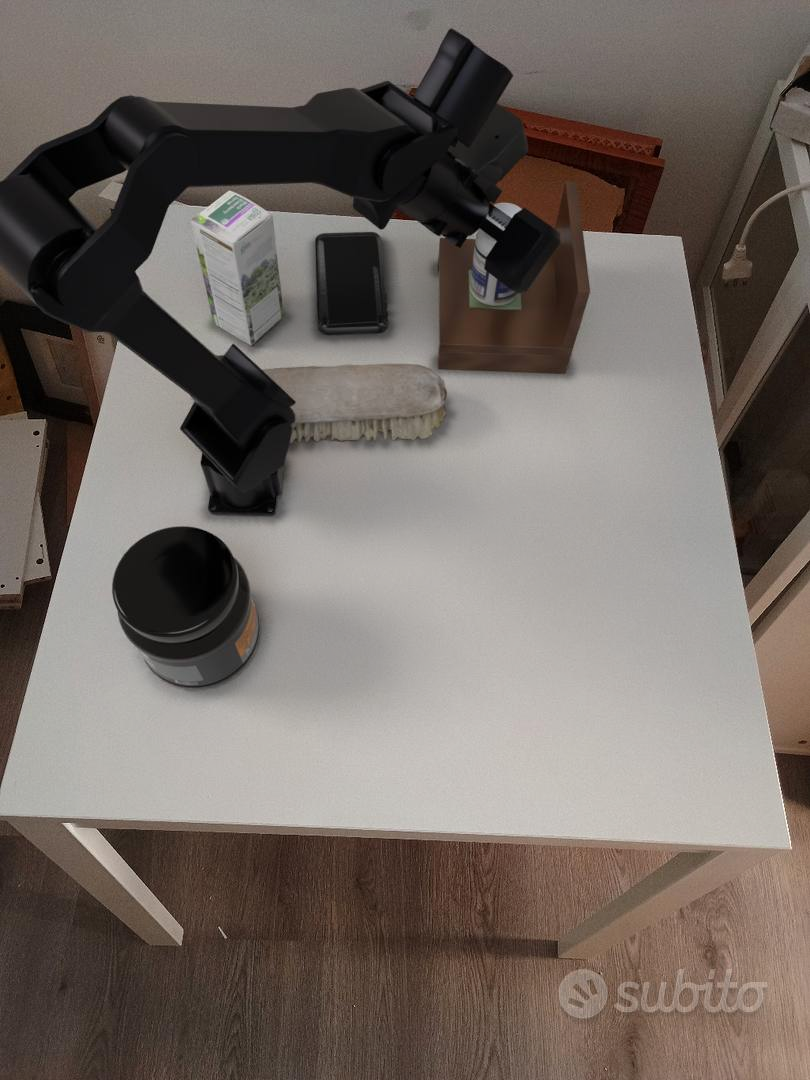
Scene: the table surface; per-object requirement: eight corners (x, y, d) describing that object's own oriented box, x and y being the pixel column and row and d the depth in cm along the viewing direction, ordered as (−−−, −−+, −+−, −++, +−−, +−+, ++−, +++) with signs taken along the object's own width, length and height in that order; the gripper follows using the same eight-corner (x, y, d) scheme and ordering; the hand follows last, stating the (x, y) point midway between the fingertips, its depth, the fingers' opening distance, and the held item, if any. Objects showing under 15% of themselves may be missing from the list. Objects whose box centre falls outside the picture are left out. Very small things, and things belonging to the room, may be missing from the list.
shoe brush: (442, 383, 89) (445, 352, 84) (450, 440, 85) (454, 410, 81) (216, 395, 87) (208, 364, 83) (215, 453, 84) (206, 423, 79)
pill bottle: (522, 277, 91) (537, 203, 83) (513, 312, 89) (528, 238, 80) (474, 267, 92) (484, 192, 83) (464, 302, 89) (473, 228, 81)
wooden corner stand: (437, 369, 90) (445, 286, 79) (437, 264, 98) (444, 176, 87) (565, 373, 90) (590, 291, 80) (555, 269, 98) (576, 181, 87)
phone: (317, 328, 91) (314, 233, 98) (318, 335, 92) (315, 240, 99) (389, 325, 91) (381, 231, 98) (389, 333, 92) (381, 238, 99)
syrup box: (246, 295, 94) (226, 185, 82) (286, 318, 93) (272, 210, 80) (212, 324, 92) (186, 216, 79) (253, 349, 90) (233, 243, 78)
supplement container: (275, 595, 76) (258, 530, 66) (245, 704, 71) (222, 653, 61) (164, 576, 77) (130, 509, 66) (126, 683, 72) (83, 629, 61)
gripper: (569, 151, 64) (623, 208, 77) (404, 42, 70) (481, 113, 83) (485, 277, 68) (550, 311, 81) (337, 164, 74) (420, 212, 87)
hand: (500, 233), depth 83 cm, fingers open, 9 cm apart
